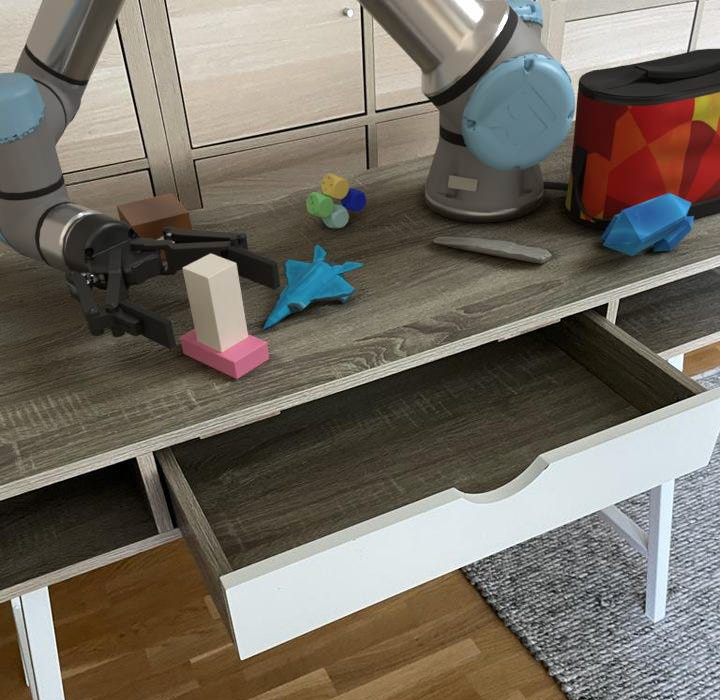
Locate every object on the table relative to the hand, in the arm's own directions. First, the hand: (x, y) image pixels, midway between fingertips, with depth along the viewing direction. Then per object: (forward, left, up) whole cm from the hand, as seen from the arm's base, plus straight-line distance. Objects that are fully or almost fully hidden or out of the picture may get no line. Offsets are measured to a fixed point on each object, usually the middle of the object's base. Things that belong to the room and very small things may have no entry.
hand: (226, 304), depth 82 cm
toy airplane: (-7, -11, -7) cm, 15 cm away
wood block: (+12, -27, -6) cm, 30 cm away
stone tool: (-29, -23, -6) cm, 38 cm away
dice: (-10, -31, -7) cm, 33 cm away
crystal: (-50, -21, -2) cm, 55 cm away
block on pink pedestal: (+1, -1, -6) cm, 7 cm away
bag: (-51, -33, -7) cm, 61 cm away
